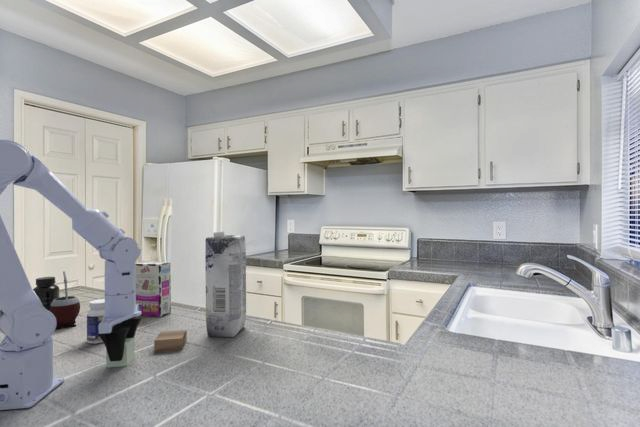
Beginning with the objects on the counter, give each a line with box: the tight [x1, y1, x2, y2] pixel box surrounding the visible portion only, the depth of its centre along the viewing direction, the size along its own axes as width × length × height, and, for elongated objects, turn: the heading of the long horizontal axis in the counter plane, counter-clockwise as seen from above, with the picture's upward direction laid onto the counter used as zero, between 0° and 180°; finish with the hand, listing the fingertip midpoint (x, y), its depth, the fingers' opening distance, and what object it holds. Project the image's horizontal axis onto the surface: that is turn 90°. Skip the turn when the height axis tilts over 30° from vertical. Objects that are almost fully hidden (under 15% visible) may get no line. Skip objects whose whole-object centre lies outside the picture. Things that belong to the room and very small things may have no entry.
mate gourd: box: [50, 271, 81, 331], centre depth 98 cm, size 8×8×15 cm
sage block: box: [105, 337, 136, 368], centre depth 73 cm, size 4×4×4 cm
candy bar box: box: [135, 261, 172, 318], centre depth 109 cm, size 11×5×16 cm, turn 73°
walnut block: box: [153, 329, 188, 353], centre depth 82 cm, size 6×6×3 cm
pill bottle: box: [86, 298, 105, 345], centre depth 86 cm, size 6×6×10 cm
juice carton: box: [204, 230, 247, 338], centre depth 92 cm, size 9×10×27 cm
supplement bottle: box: [32, 276, 61, 311], centre depth 108 cm, size 7×7×12 cm
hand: (120, 355), depth 73 cm, fingers closed on sage block, 4 cm apart
